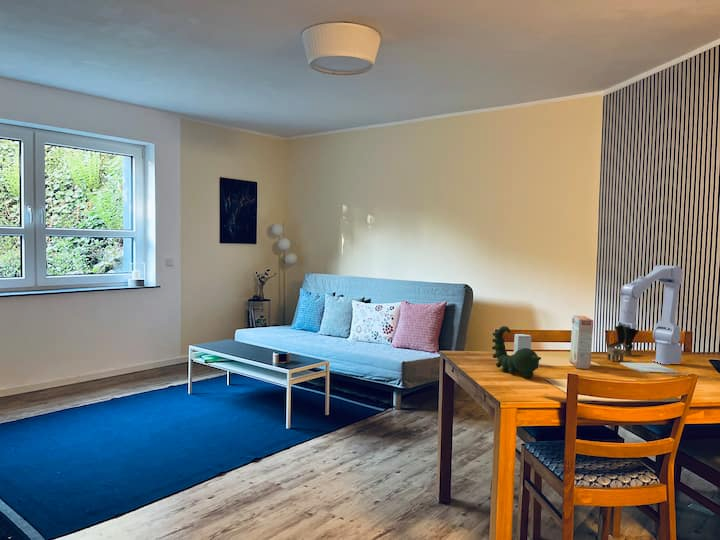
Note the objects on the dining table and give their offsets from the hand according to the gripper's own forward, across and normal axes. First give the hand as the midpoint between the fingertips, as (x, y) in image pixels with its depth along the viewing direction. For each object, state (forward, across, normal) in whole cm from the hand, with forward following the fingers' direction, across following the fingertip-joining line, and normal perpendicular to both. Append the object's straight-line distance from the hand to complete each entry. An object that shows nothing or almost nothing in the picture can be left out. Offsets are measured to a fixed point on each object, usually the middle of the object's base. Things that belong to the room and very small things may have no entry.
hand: (624, 344), depth 224 cm
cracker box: (+12, +1, -17) cm, 21 cm away
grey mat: (+9, -1, +12) cm, 15 cm away
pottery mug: (+8, -31, +12) cm, 35 cm away
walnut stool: (+9, -14, +3) cm, 17 cm away
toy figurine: (+16, +22, -48) cm, 56 cm away
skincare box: (+14, 0, -42) cm, 44 cm away
